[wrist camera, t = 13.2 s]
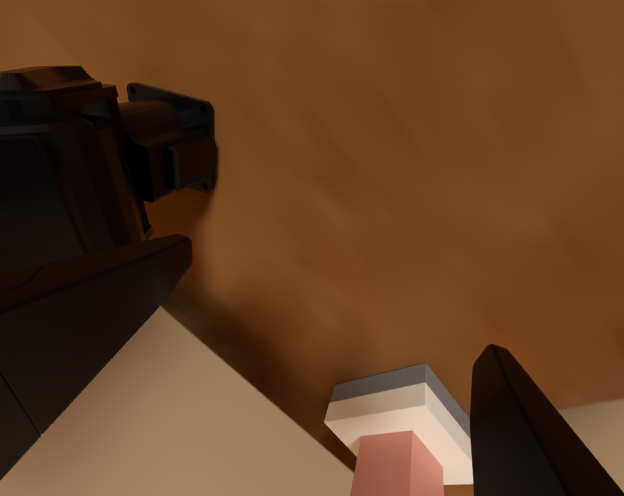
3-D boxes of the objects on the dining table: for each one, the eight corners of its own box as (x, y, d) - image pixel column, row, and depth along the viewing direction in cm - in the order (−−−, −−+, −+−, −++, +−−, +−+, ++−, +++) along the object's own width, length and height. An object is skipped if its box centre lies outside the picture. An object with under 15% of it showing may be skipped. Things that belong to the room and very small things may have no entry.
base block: (334, 385, 32) (323, 422, 29) (425, 362, 27) (425, 405, 23) (388, 445, 34) (384, 486, 31) (482, 435, 29) (488, 483, 26)
